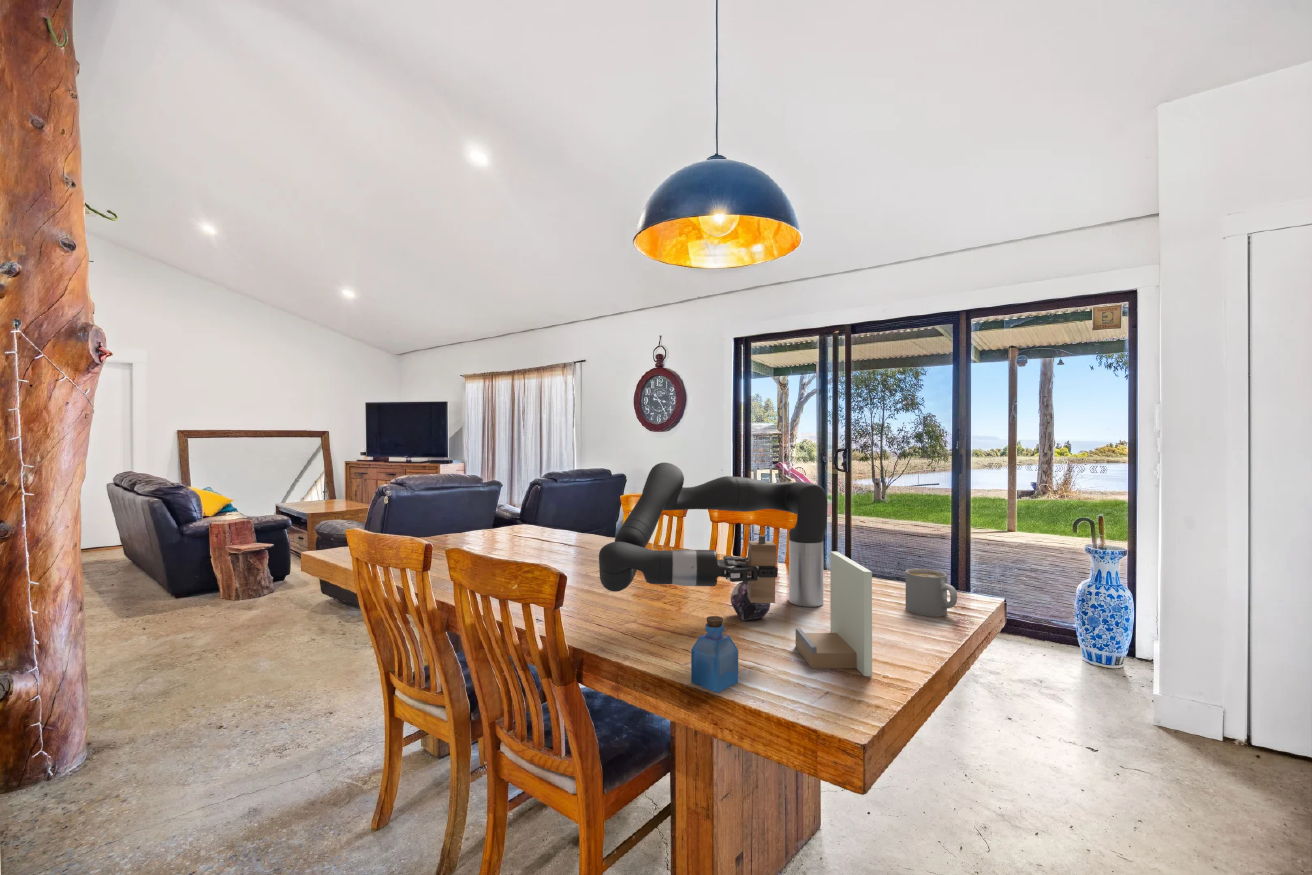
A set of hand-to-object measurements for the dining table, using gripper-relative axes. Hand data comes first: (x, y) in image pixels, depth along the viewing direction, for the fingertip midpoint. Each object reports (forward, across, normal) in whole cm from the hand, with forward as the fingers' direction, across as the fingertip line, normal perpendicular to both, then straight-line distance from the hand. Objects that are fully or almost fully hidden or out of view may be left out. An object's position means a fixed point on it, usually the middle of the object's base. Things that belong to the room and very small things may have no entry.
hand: (774, 569), depth 123 cm
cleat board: (+11, -1, +18) cm, 21 cm away
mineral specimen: (-1, +25, +18) cm, 31 cm away
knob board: (-3, 0, +6) cm, 7 cm away
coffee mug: (+47, +30, +17) cm, 58 cm away
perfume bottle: (-14, -14, +18) cm, 27 cm away
